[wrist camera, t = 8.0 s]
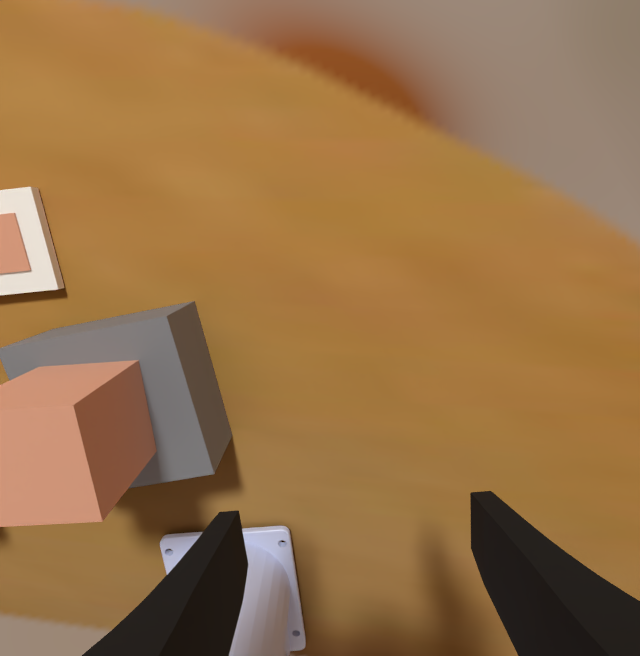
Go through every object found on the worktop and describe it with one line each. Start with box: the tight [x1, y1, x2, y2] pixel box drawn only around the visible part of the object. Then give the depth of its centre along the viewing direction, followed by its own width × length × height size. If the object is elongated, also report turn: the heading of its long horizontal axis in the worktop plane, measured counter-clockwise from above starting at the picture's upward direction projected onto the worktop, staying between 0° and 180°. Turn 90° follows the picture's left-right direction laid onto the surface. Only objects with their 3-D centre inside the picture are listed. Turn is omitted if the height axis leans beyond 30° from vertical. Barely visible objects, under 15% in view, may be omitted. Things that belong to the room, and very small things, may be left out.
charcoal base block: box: [0, 301, 232, 488], centre depth 20 cm, size 8×8×4 cm
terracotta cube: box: [0, 360, 157, 527], centre depth 16 cm, size 5×5×5 cm
